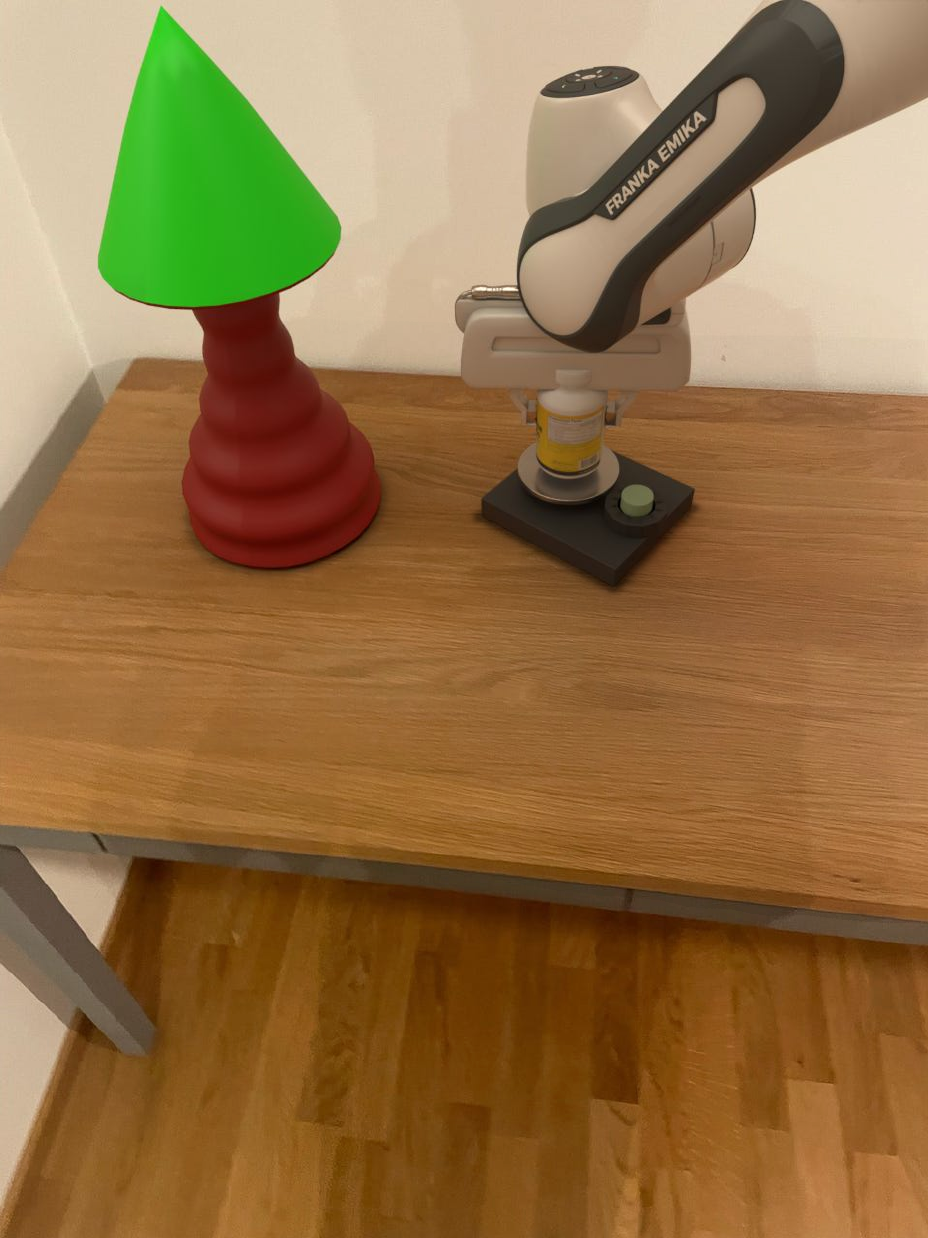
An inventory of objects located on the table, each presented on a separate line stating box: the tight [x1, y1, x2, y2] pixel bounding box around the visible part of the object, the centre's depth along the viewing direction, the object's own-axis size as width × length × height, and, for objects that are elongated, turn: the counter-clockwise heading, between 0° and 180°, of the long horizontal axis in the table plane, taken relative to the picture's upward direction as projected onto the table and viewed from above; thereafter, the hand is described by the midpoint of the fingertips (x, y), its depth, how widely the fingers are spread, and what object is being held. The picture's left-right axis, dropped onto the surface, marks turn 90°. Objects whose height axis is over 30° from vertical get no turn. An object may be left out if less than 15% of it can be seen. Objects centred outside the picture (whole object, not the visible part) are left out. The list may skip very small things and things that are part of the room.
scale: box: [480, 449, 696, 587], centre depth 92 cm, size 16×14×4 cm
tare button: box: [620, 485, 654, 517], centre depth 88 cm, size 3×3×2 cm
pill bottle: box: [535, 370, 609, 479], centre depth 86 cm, size 6×6×12 cm
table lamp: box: [97, 5, 382, 569], centre depth 79 cm, size 20×20×45 cm
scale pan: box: [517, 441, 619, 505], centre depth 91 cm, size 10×10×1 cm
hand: (571, 421), depth 87 cm, fingers closed on pill bottle, 6 cm apart
